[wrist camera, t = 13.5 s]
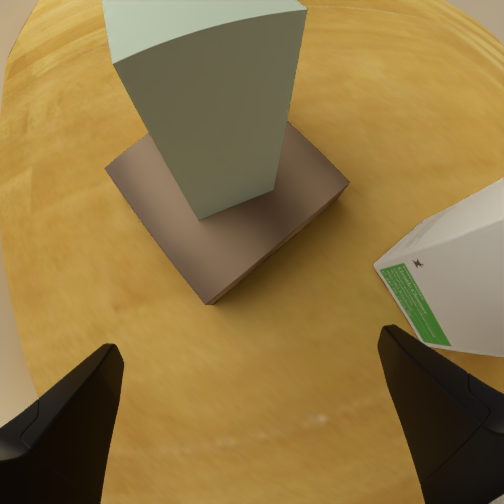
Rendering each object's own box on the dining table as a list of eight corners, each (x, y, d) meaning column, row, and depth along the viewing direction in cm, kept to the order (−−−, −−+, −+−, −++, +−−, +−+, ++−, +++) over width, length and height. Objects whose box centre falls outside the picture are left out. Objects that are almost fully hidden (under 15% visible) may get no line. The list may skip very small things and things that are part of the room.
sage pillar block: (198, 220, 18) (112, 64, 5) (173, 155, 19) (101, -6, 6) (273, 190, 18) (306, 9, 6) (242, 129, 19) (236, -45, 6)
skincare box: (369, 264, 21) (542, 187, 5) (423, 217, 21) (565, 126, 6) (423, 350, 19) (592, 374, 4) (470, 298, 20) (620, 274, 5)
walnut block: (211, 305, 20) (205, 304, 17) (120, 184, 22) (104, 168, 19) (337, 198, 21) (350, 182, 18) (236, 99, 23) (234, 76, 20)
